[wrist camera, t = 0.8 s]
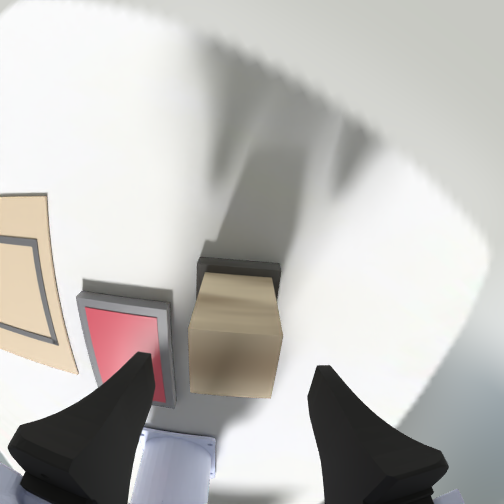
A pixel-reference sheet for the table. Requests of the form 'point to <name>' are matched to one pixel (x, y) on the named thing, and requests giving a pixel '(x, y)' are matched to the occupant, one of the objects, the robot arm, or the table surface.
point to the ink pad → (128, 338)
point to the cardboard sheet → (30, 286)
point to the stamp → (235, 328)
